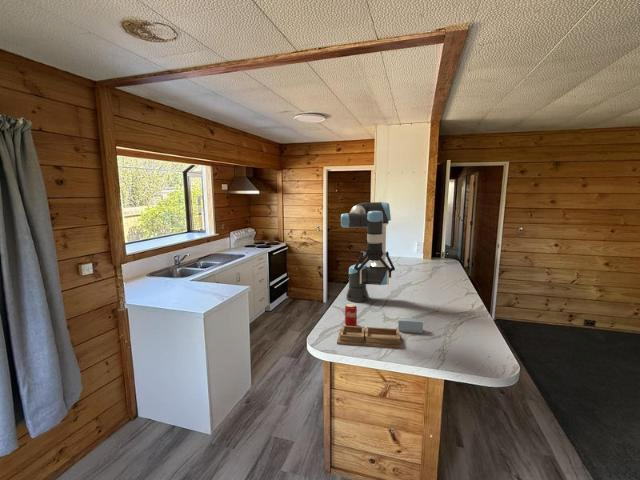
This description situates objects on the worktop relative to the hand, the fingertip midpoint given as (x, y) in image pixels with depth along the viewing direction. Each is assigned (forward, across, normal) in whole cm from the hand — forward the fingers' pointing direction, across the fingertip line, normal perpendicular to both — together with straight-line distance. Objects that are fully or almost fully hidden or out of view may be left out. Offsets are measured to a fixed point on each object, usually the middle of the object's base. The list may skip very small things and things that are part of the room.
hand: (374, 283), depth 159 cm
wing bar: (+26, +19, +4) cm, 33 cm away
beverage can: (+26, -12, +6) cm, 29 cm away
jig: (+26, -2, -9) cm, 28 cm away
